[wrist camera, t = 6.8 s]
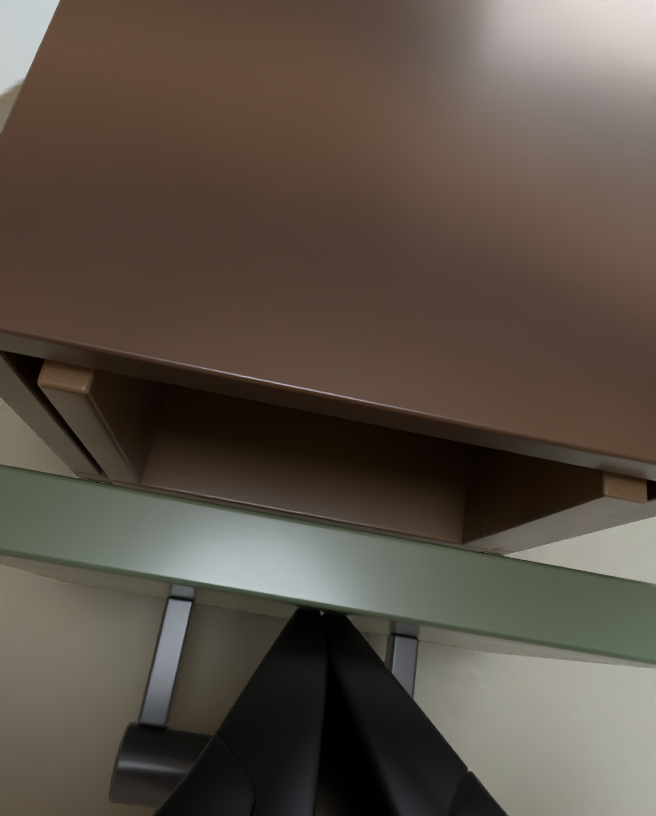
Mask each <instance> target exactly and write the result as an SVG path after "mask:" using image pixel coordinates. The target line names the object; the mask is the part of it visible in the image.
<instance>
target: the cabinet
mask: <svg viewBox="0 0 656 816" xmlns="http://www.w3.org/2000/svg"><path fill="white" fill-rule="evenodd" d="M45 359H49V360H54V361H59V362H64V363H69V364H74V365H79V366H84V367H89V368H94V369H99V370H104V371H109V372H114V373H119V374H124V375H129V376H134V377H139V378H144V379H149V380H154V381H159V382H164V383H169V384H174V385H179V386H184V387H189V388H194V389H199V390H204V391H209V392H214V393H219V394H224V395H229V396H234V397H239V398H244V399H249V400H254V401H259V402H264V403H269V404H274V405H279V406H284V407H289V408H294V409H299V410H304V411H309V412H314V413H319V414H324V415H329V416H334V417H339V418H344V419H349V420H354V421H359V422H364V423H369V424H374V425H379V426H384V427H389V428H394V429H399V430H404V431H409V432H414V433H419V434H424V435H429V436H434V437H439V438H444V439H449V440H454V441H459V442H464V443H469V444H474V445H479V446H484V447H489V448H494V449H499V450H504V451H509V452H514V453H519V454H524V455H529V456H534V457H539V458H544V459H549V460H554V461H559V462H564V463H569V464H574V465H579V466H584V467H589V468H594V469H599V470H604V471H609V472H614V473H619V474H624V475H629V476H634V477H639V478H644V479H647V503H646V504H643V505H640V506H637V507H633V508H630V509H626V510H623V511H619V512H616V513H613V514H609V515H606V516H602V517H599V518H595V519H592V520H589V521H585V522H582V523H578V524H575V525H571V526H568V527H565V528H561V529H558V530H554V531H551V532H547V533H544V534H541V535H537V536H534V537H530V538H527V539H523V540H520V541H517V542H513V543H510V544H506V545H503V546H499V547H496V548H493V549H489V550H485V551H486V552H491V553H497V554H502V555H505V554H509V553H513V552H518V551H521V550H525V549H529V548H533V547H537V546H541V545H545V544H549V543H553V542H557V541H560V540H564V539H568V538H572V537H576V536H580V535H584V534H588V533H592V532H595V531H599V530H603V529H607V528H611V527H615V526H619V525H623V524H627V523H631V522H634V521H638V520H642V519H646V518H650V517H654V516H656V0H60V2H59V4H58V6H57V8H56V11H55V13H54V15H53V17H52V20H51V22H50V24H49V26H48V29H47V31H46V33H45V35H44V38H43V40H42V42H41V44H40V46H39V49H38V51H37V53H36V55H35V58H34V60H33V62H32V64H31V67H30V69H29V71H28V73H27V76H26V78H25V80H24V82H23V85H22V87H21V89H20V91H19V94H18V96H17V98H16V100H15V102H14V105H13V107H12V109H11V111H10V114H9V116H8V118H7V120H6V123H5V125H4V127H3V129H2V132H1V134H0V397H1V398H2V399H3V400H4V401H5V402H6V403H7V404H8V405H9V406H10V407H11V408H12V409H13V410H14V411H15V412H16V413H17V414H18V415H19V416H20V417H21V418H22V419H23V421H24V422H25V423H26V424H27V425H28V426H29V427H30V428H31V429H32V430H33V431H34V432H35V433H36V434H37V435H38V436H39V437H40V438H41V439H42V440H43V441H44V442H45V443H46V444H47V445H48V446H49V447H50V448H51V449H52V450H53V451H54V452H55V453H56V454H57V456H58V457H59V458H60V459H61V460H62V461H63V462H64V463H65V464H66V465H67V466H68V467H69V468H70V469H71V470H73V471H74V472H75V473H76V475H77V476H79V477H81V478H87V479H92V480H98V481H103V482H109V483H112V481H111V480H110V478H109V477H108V475H107V474H106V473H105V471H104V470H103V469H102V468H101V466H100V465H99V464H98V462H97V461H96V460H95V458H94V457H93V456H92V455H91V453H90V452H89V451H88V449H87V448H86V447H85V445H84V444H83V443H82V442H81V440H80V439H79V438H78V436H77V435H76V434H75V432H74V431H73V430H72V429H71V427H70V426H69V425H68V423H67V422H66V421H65V419H64V418H63V417H62V416H61V414H60V413H59V412H58V410H57V409H56V408H55V406H54V405H53V404H52V403H51V401H50V400H49V399H48V397H47V396H46V395H45V393H44V392H43V391H42V390H41V388H40V387H39V386H38V381H37V380H38V377H39V374H40V372H41V369H42V366H43V363H44V360H45Z"/></svg>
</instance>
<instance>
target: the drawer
mask: <svg viewBox="0 0 656 816" xmlns="http://www.w3.org/2000/svg"><path fill="white" fill-rule="evenodd" d="M37 381H38V386H39V387H40V388H41V390H42V391H43V392H44V393H45V395H46V396H47V397H48V399H49V400H50V401H51V403H52V404H53V405H54V406H55V408H56V409H57V410H58V412H59V413H60V414H61V416H62V417H63V418H64V419H65V421H66V422H67V423H68V425H69V426H70V427H71V429H72V430H73V431H74V432H75V434H76V435H77V436H78V438H79V439H80V440H81V442H82V443H83V444H84V445H85V447H86V448H87V449H88V451H89V452H90V453H91V455H92V456H93V457H94V458H95V460H96V461H97V462H98V464H99V465H100V466H101V468H102V469H103V470H104V471H105V473H106V474H107V475H108V477H109V478H110V480H111V481H112V483H113V484H114V485H110V484H105V483H99V482H94V481H89V480H83V479H78V478H72V477H67V476H61V475H56V474H50V473H45V472H39V471H34V470H28V469H23V468H17V467H12V466H6V465H1V464H0V564H4V565H7V566H11V567H14V568H18V569H21V570H25V571H28V572H32V573H35V574H39V575H43V576H46V577H50V578H53V579H57V580H60V581H64V582H70V583H76V584H82V585H88V586H94V587H100V588H106V589H112V590H118V591H124V592H130V593H136V594H142V595H148V596H154V597H160V598H166V603H165V608H164V612H163V616H162V620H161V624H160V629H159V633H158V637H157V641H156V646H155V650H154V654H153V658H152V663H151V667H150V671H149V675H148V679H147V684H146V688H145V692H144V696H143V701H142V705H141V709H140V713H139V717H138V722H130V723H129V724H128V726H127V727H126V729H125V731H124V734H123V737H122V740H121V743H120V746H119V749H118V753H117V756H116V760H115V764H114V768H113V772H112V777H111V782H110V788H109V801H111V802H112V803H119V804H127V805H134V806H142V807H149V808H156V809H158V808H159V807H160V806H161V805H162V803H163V802H164V801H165V800H166V799H167V797H168V796H169V795H170V794H171V793H172V791H173V790H174V789H175V788H176V787H177V785H178V784H179V783H180V782H181V781H182V779H183V778H184V776H185V775H186V774H187V772H188V771H189V769H190V768H191V767H192V765H193V764H194V762H195V761H196V760H197V758H198V757H199V755H200V754H201V753H202V751H203V750H204V748H205V746H206V745H207V743H208V742H209V740H210V739H211V737H212V736H213V735H215V734H213V733H207V732H200V731H193V730H186V729H179V728H172V727H167V725H168V724H169V722H170V718H171V713H172V709H173V704H174V700H175V695H176V691H177V686H178V682H179V677H180V672H181V668H182V663H183V659H184V654H185V650H186V645H187V641H188V636H189V631H190V627H191V622H192V618H193V613H194V609H195V603H196V604H202V605H208V606H214V607H220V608H226V609H232V610H238V611H244V612H250V613H256V614H262V615H268V616H274V617H280V618H286V619H290V618H291V616H292V615H293V613H294V612H295V610H296V609H298V608H300V609H306V610H312V611H318V612H320V613H321V615H322V614H323V613H330V614H336V615H342V616H346V617H347V618H349V620H350V621H351V622H352V623H353V625H354V626H355V627H356V628H357V630H358V631H364V632H370V633H376V634H382V635H388V638H387V647H386V656H385V665H386V666H387V667H388V668H389V670H390V671H391V672H392V673H393V675H394V676H395V677H396V678H397V680H398V681H399V682H400V683H401V685H402V686H403V687H404V688H405V690H406V691H407V692H408V693H409V695H410V696H411V697H412V698H414V687H415V676H416V666H417V655H418V644H419V641H424V642H430V643H436V644H442V645H448V646H454V647H460V648H466V649H472V650H478V651H484V652H490V653H500V654H510V655H521V656H531V657H541V658H552V659H562V660H572V661H583V662H593V663H604V664H614V665H624V666H635V667H645V668H655V669H656V584H652V583H647V582H642V581H636V580H631V579H625V578H620V577H614V576H609V575H603V574H598V573H592V572H587V571H581V570H576V569H570V568H565V567H559V566H554V565H548V564H543V563H537V562H532V561H527V560H521V559H516V558H510V557H505V556H499V555H494V554H488V553H483V552H482V551H485V550H489V549H493V548H496V547H499V546H503V545H506V544H510V543H513V542H517V541H520V540H523V539H527V538H530V537H534V536H537V535H541V534H544V533H547V532H551V531H554V530H558V529H561V528H565V527H568V526H571V525H575V524H578V523H582V522H585V521H589V520H592V519H595V518H599V517H602V516H606V515H609V514H613V513H616V512H619V511H623V510H626V509H630V508H633V507H637V506H640V505H643V504H646V503H647V479H644V478H639V477H634V476H629V475H624V474H619V473H614V472H609V471H604V470H599V469H594V468H589V467H584V466H579V465H574V464H569V463H564V462H559V461H554V460H549V459H544V458H539V457H534V456H529V455H524V454H519V453H514V452H509V451H504V450H499V449H494V448H489V447H484V446H479V445H474V444H469V443H464V442H459V441H454V440H449V439H444V438H439V437H434V436H429V435H424V434H419V433H414V432H409V431H404V430H399V429H394V428H389V427H384V426H379V425H374V424H369V423H364V422H359V421H354V420H349V419H344V418H339V417H334V416H329V415H324V414H319V413H314V412H309V411H304V410H299V409H294V408H289V407H284V406H279V405H274V404H269V403H264V402H259V401H254V400H249V399H244V398H239V397H234V396H229V395H224V394H219V393H214V392H209V391H204V390H199V389H194V388H189V387H184V386H179V385H174V384H169V383H164V382H159V381H154V380H149V379H144V378H139V377H134V376H129V375H124V374H119V373H114V372H109V371H104V370H99V369H94V368H89V367H84V366H79V365H74V364H69V363H64V362H59V361H54V360H49V359H45V360H44V363H43V366H42V369H41V372H40V374H39V377H38V380H37Z"/></svg>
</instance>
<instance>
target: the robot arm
mask: <svg viewBox="0 0 656 816" xmlns="http://www.w3.org/2000/svg"><path fill="white" fill-rule="evenodd" d="M467 772H468V768H467V766H466V765H465V764H464V762H463V761H462V760H461V759H460V757H459V756H458V755H457V754H456V752H455V751H454V750H453V749H452V747H451V746H450V745H449V744H448V742H447V741H446V740H445V739H444V737H443V736H442V735H441V734H440V732H439V731H438V730H437V729H436V727H435V726H434V725H433V724H432V722H431V721H430V720H429V718H428V717H427V716H426V715H425V713H424V712H423V711H422V710H421V708H420V707H419V706H418V705H417V703H416V702H415V701H414V700H413V698H412V697H411V696H410V695H409V693H408V692H407V691H406V690H405V688H404V687H403V686H402V685H401V683H400V682H399V681H398V680H397V678H396V677H395V676H394V675H393V673H392V672H391V671H390V670H389V668H388V667H387V666H386V665H385V663H384V662H383V661H382V660H381V658H380V657H379V656H378V655H377V653H376V652H375V651H374V650H373V648H372V647H371V646H370V645H369V643H368V642H367V641H366V640H365V638H364V637H363V636H362V635H361V633H360V632H359V631H358V630H357V628H356V627H355V626H354V625H353V623H352V622H351V621H350V620H349V618H347V617H346V616H342V615H336V614H330V613H323V614H322V615H321V613H320V612H318V611H312V610H306V609H300V608H298V609H296V610H295V612H294V613H293V615H292V616H291V618H290V619H289V621H288V622H287V624H286V625H285V627H284V629H283V630H282V632H281V633H280V635H279V636H278V638H277V639H276V641H275V642H274V644H273V645H272V647H271V648H270V650H269V651H268V653H267V654H266V656H265V658H264V659H263V661H262V662H261V664H260V665H259V667H258V668H257V670H256V671H255V673H254V674H253V676H252V677H251V679H250V680H249V682H248V683H247V685H246V687H245V688H244V690H243V691H242V693H241V694H240V696H239V697H238V699H237V700H236V702H235V703H234V705H233V706H232V708H231V709H230V711H229V712H228V714H227V716H226V717H225V719H224V720H223V722H222V723H221V725H220V726H219V728H218V729H217V731H216V732H215V735H213V736H212V737H211V739H210V740H209V742H208V743H207V745H206V746H205V748H204V750H203V751H202V753H201V754H200V755H199V757H198V758H197V760H196V761H195V762H194V764H193V765H192V767H191V768H190V769H189V771H188V772H187V774H186V775H185V776H184V778H183V779H182V781H181V782H180V783H179V784H178V785H177V787H176V788H175V789H174V790H173V791H172V793H171V794H170V795H169V796H168V797H167V799H166V800H165V801H164V802H163V803H162V805H161V806H160V807H159V808H158V809H157V811H156V812H155V813H154V814H153V815H152V816H508V815H507V814H506V812H505V811H504V810H503V809H502V808H501V807H500V805H499V804H498V803H497V802H496V801H495V799H494V798H493V797H492V796H491V795H490V793H489V792H488V791H487V790H486V788H485V787H484V786H483V785H482V783H481V782H480V781H479V780H478V778H477V777H476V776H475V775H474V773H473V772H471V771H469V772H468V773H467Z"/></svg>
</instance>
